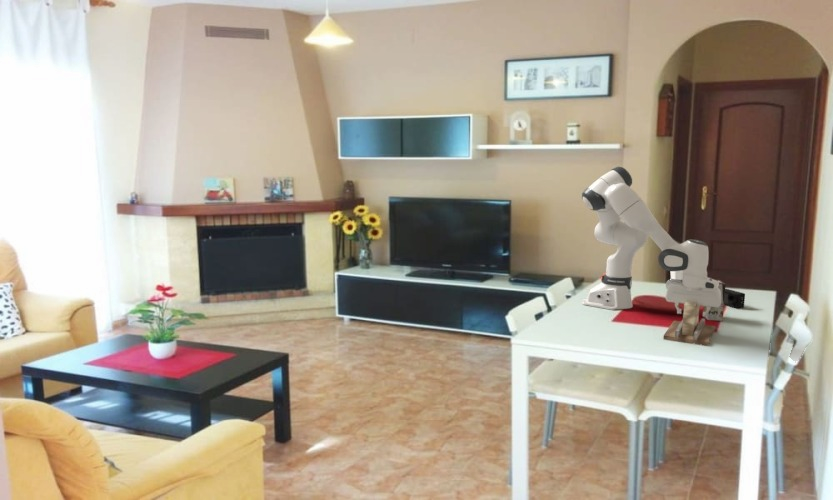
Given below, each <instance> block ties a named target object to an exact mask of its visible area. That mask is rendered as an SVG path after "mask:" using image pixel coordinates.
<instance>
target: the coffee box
mask: <svg viewBox="0 0 833 500" xmlns="http://www.w3.org/2000/svg"><path fill="white" fill-rule="evenodd" d="M715 280H716V281H718V282H719V287H718V288H719V289H720V291H721V305H720V306H719V307H718V308H717V307H711V309H710V310H709V312H708V313H707V317H704V319H705V320H707V321H719V322H722V321H723V319H724V306H725V305H724V297H725V289H726V285H727V284H726V283H725V282H724V281H723V280H721V279H715ZM702 309H703V311H702V313H703V312H706V311H707V309H706V306H703V308H702Z"/></svg>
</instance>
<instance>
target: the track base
mask: <svg viewBox="0 0 833 500" xmlns="http://www.w3.org/2000/svg"><path fill="white" fill-rule="evenodd" d="M699 321H700V322H698V326H697V328H696V330H695V332H694V335H693V336H689V335H682V327H683V319H682V320H681V321H679V320H673V321H672V323H671V324H670V326H668V329H666V331H665V333H664V334H663V337H662V338H663V340H668V341H674V342H681V343H686V342H687V343H688V344H693V343H695V344H694V345H700V344H702V346H707V345H708V344H710V342H711V339H712V338H713V335H714V334H715V331H716V326H715V325H711V324H710V325H709V324H706V318H701V319H700V320H699ZM708 346H709V345H708Z"/></svg>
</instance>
